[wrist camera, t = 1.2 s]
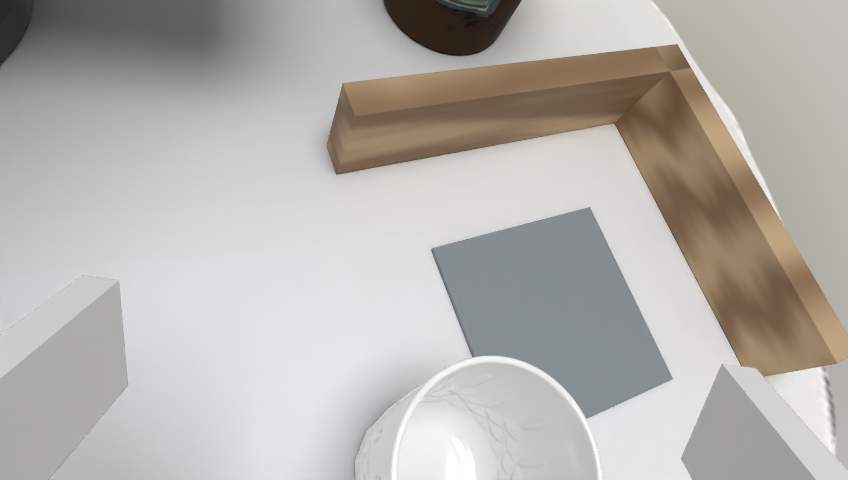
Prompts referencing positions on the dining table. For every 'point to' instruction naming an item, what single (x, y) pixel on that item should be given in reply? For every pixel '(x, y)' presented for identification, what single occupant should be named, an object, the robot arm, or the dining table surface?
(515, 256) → the slate mat
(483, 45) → the brown bottle
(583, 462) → the white cup
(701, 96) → the corner pen
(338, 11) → the dining table surface
